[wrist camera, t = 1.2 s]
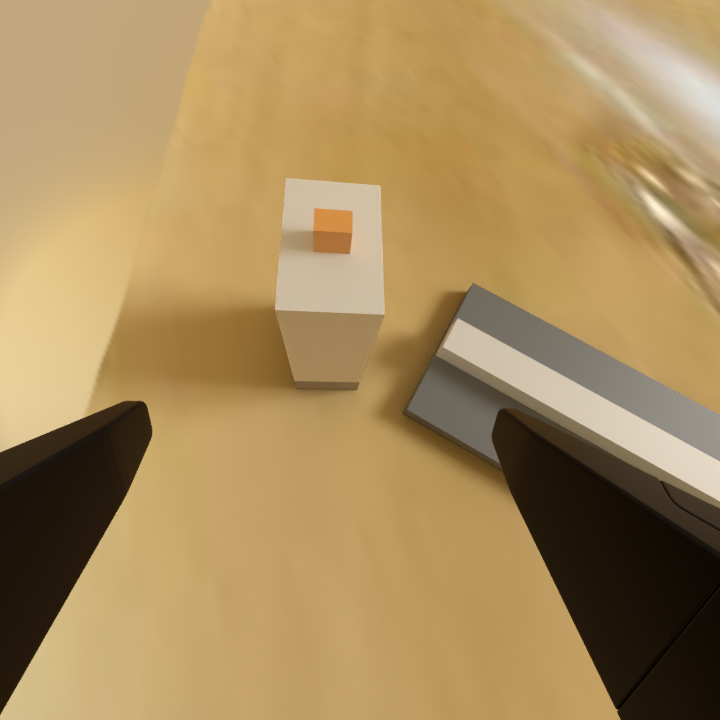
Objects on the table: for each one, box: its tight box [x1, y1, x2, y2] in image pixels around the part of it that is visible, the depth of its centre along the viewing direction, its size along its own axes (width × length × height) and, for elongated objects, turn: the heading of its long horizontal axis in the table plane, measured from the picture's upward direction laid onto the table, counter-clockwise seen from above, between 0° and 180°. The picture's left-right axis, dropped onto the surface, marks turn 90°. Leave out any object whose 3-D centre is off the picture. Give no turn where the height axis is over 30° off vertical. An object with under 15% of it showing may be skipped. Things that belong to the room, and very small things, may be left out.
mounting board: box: [403, 283, 720, 508], centre depth 23 cm, size 20×11×3 cm, turn 60°
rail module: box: [275, 178, 385, 390], centre depth 18 cm, size 6×4×12 cm, turn 179°
